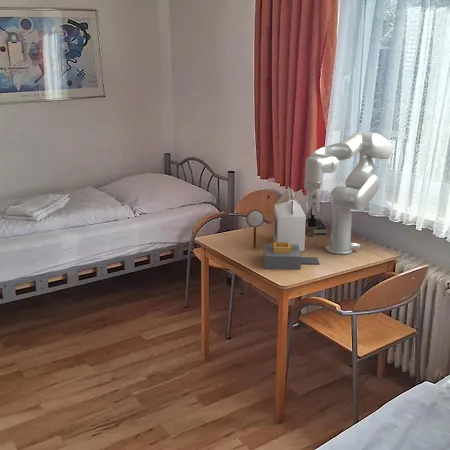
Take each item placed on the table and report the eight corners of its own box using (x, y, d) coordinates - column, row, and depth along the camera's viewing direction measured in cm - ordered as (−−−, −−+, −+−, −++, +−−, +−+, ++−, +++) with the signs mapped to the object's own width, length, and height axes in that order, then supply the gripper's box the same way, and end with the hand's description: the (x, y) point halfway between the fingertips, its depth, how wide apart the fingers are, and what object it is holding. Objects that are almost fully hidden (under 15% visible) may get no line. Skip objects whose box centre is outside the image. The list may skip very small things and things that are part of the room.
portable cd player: (294, 236, 287) (295, 228, 286) (290, 226, 303) (290, 219, 302) (325, 235, 287) (326, 228, 286) (319, 225, 304) (320, 219, 302)
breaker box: (297, 256, 256) (298, 239, 254) (300, 269, 241) (301, 251, 238) (263, 256, 257) (263, 238, 254) (264, 268, 242) (264, 250, 239)
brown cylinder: (313, 234, 248) (315, 202, 244) (314, 237, 245) (316, 204, 240) (306, 234, 248) (307, 202, 244) (306, 237, 245) (308, 204, 241)
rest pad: (317, 258, 254) (317, 257, 254) (319, 264, 246) (319, 263, 246) (300, 258, 254) (300, 257, 254) (301, 264, 247) (301, 263, 247)
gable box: (304, 251, 263) (306, 195, 255) (276, 251, 263) (278, 195, 255) (298, 236, 284) (301, 184, 276) (273, 236, 284) (274, 184, 276)
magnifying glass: (246, 250, 264) (246, 210, 258) (245, 249, 266) (246, 209, 260) (263, 249, 265) (264, 210, 259) (262, 248, 267) (263, 209, 261)
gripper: (324, 189, 232) (321, 230, 237) (319, 181, 247) (317, 220, 253) (306, 189, 232) (304, 230, 237) (302, 181, 248) (300, 219, 253)
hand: (311, 224), depth 245 cm, fingers closed on brown cylinder, 3 cm apart
